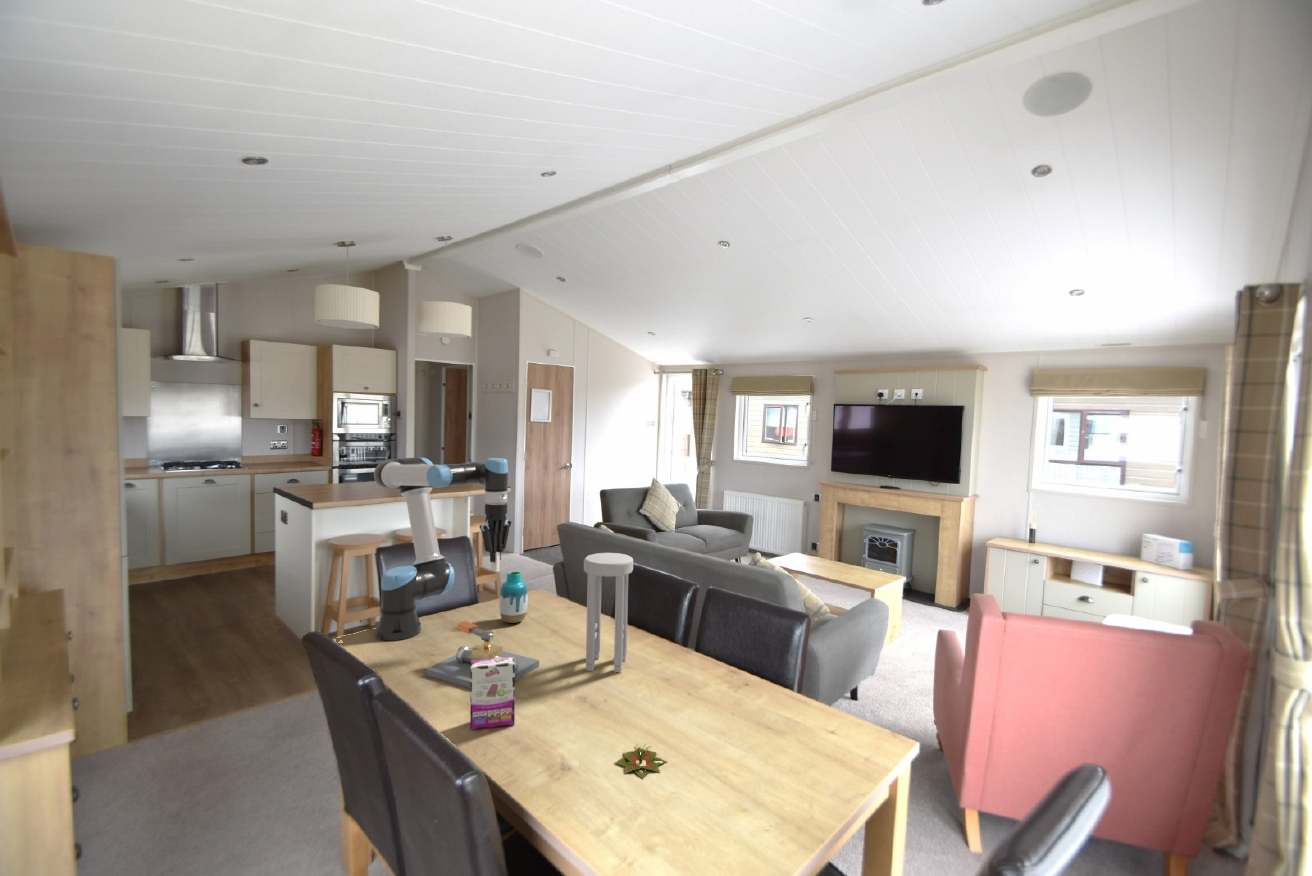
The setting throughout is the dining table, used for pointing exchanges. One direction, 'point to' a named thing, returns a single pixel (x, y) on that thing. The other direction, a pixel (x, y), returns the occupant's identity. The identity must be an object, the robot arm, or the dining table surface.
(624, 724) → the dining table surface
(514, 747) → the dining table surface
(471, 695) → the candy bar box
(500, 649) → the valve pipe
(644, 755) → the lily flower
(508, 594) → the vase
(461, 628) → the valve lever
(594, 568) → the stool
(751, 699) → the dining table surface
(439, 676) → the valve board
